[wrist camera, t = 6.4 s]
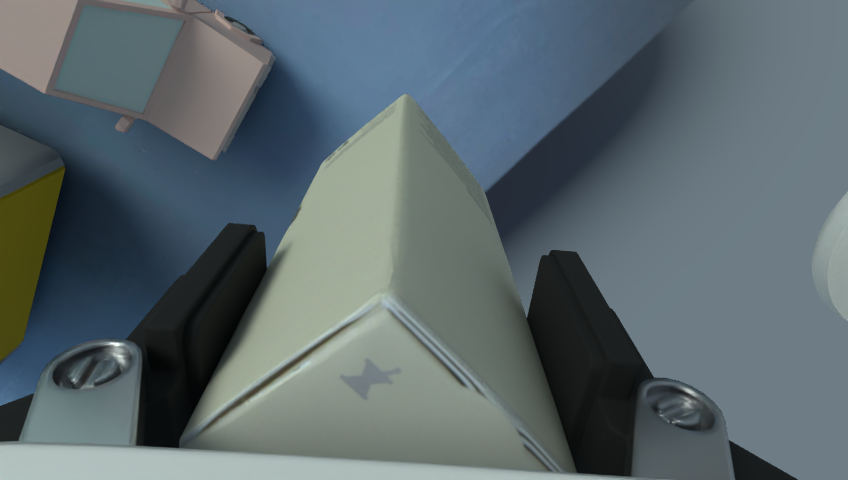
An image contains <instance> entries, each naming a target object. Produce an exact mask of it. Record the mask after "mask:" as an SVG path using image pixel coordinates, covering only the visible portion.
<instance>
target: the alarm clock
mask: <svg viewBox="0 0 848 480" xmlns="http://www.w3.org/2000/svg"><path fill="white" fill-rule="evenodd" d="M64 172H65V167H64V163H63V161H62V159H61V157H60V155H59V154H58V152H57V150H54V149H52V148H50V147H48V146H46V145H44V144H41V143H39V142H37V141H35V140H33V139H30V138H28V137H26V136H24V135H22V134H19V133H17V132H15V131H13V130H10V129H8V128H6V127H4V126H2V125H0V364H1V363H2V362H3V361H5V360H6V359H7V358H8V357H9V356H10V355H11V354H12V353H13V352H15V351H16V350H17V349H18V348H19V347H20V343H21V342H23V339H24V335H25V331H26V327H27V323H28V319H29V315H30V311H31V307H32V303H33V299H34V295H35V291H36V286H37V282H38V278H39V274H40V270H41V266H42V262H43V258H44V254H45V250H46V246H47V242H48V238H49V233H50V229H51V225H52V221H53V217H54V213H55V209H56V205H57V201H58V197H59V193H60V189H61V185H62V180H63V176H64Z"/></svg>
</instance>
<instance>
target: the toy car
mask: <svg viewBox="0 0 848 480" xmlns="http://www.w3.org/2000/svg"><path fill="white" fill-rule="evenodd" d="M262 42H263V40H261V39H260V38H258V37H257V36H255V35H254V33H253V32H252V31H251V30H250V29H249V28H247V27H246V26H245V25H243V24H241V23H240V22H238V21H236V20H234V19H232V18H230V17H224V14H223V13H222V12H220V11H219V10H218V9H216V11H215V13H213V12H212V11H211V10H209V9H208V8H206V7H205V6H203V5H202V4H200V3H199V2H197V1H196V0H0V68H1V69H3V70H5V71H6V72H8V73H10V74H11V75H13V76H15V77H17V78H18V79H20V80H22V81H24V82H25V83H27V84H29V85H30V86H32V87H34V88H36V89H37V90H39V91H41V92H43V93H44V94H48V95H52V96H55V97H59V98H63V99H67V100H70V101H74V102H78V103H82V104H86V105H89V106H93V107H97V108H101V109H104V110H108V111H112V112H116V113H120V114H123V116H122V117H121V119H120V120H119V121H118V122H117V124H116V126H115V129H117V130H118V131H121V132H124V133H126V132H127V131H128V130H129V129H130V128H131V126H132V125H133V123H134V120H135V119H137V118H139V119H142V120H146V121H148V122H149V123H151V124H153V125H155V126H156V127H158V128H160V129H161V130H163V131H165V132H166V133H168V134H170V135H171V136H173V137H175V138H176V139H178V140H180V141H181V142H183V143H185V144H186V145H188V146H190V147H191V148H193V149H195V150H196V151H198V152H200V153H201V154H203V155H205V156H206V157H208V158H210V159H212V160H217V158H218V156H219V154H220V152H221V150H222V151H223V152H226V150H227V149H228V147H229V146H230V144H231V142H232V140H233V138H234V135H235V133H236V131H237V129H238V128H239V126H240V124H241V122H242V120H243V118H244V116H245V115H246V113H247V111H248V109H249V107H250V105H251V104H252V102H253V100H254V98H255V96H256V94H257V92H258V91H259V89H260V87H261V86H262V84H263V83H264V81H265V79H266V78H267V76H268V74H269V72H270V70H271V67H272V65H273V63H274V61H275V59H276V57H275V56H274V54H273V53H272V52H271V51H269V50H268V49H266V48H265V47H263V46H262V45H261V44H262Z"/></svg>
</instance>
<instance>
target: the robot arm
mask: <svg viewBox="0 0 848 480" xmlns="http://www.w3.org/2000/svg"><path fill="white" fill-rule="evenodd" d="M266 270H267V266H266V248H265V236H264V233H263V232H257V229H256V227H255V225H246V224H233V223H229V224H227V226H226V227H225V228H224V229H223V230H222V231H221V233H220V234H219V235H218V236H217V237H216V239H215V240H214V241H213V242H212V243H211V245H210V246H209V247H208V248H207V249H206V251H205V252H204V253H203V254H202V255H201V257H200V258H199V259H198V260H197V261H196V262H195V264H194V265H193V266H192V267H191V268H190V270H189V271H188V272H187V273H186V274H185V275H182V276H180V277H179V278H178V279H177V280H176V281H175V282H174V284H173V285H172V286H171V287H170V288H169V289H168V291H167V292H166V293H165V294H164V295H163V296H162V298H161V299H160V300H159V301H158V302H157V304H156V305H155V306H154V307H153V308H152V309H151V311H150V312H149V313H148V314H147V315H146V316H145V318H144V319H143V320H142V321H141V322H140V323H139V325H138V326H137V327H136V328H135V329H134V330H133V332H132V333H131V334H130V335H129V336H128V338H127V339H126V340H125V339H116V338H108V339H98V340H93V341H89V342H85V343H82V344H79V345H77V346H74V347H71V348H69V349H67V350H66V351H64V352H62V353H61V354H59V355H57V356H56V357H55V358H53V359H52V360H51V361H50V362H49V363H48V364H47V365H46V366H45V368H44V370H43V371H42V373H41V375H40V378H39V381H38V384H37V387H36V390H35V393H33V394H31V395H28V396H26V397H23V398H20V399H18V400H15V401H12V402H10V403H7V404H4V405H2V406H0V480H797V479H796V478H794V477H792V476H790V475H789V474H787V473H785V472H784V471H782V470H780V469H778V468H777V467H775V466H773V465H771V464H770V463H768V462H766V461H764V460H763V459H761V458H759V457H757V456H755V455H754V454H752V453H750V452H749V451H747V450H745V449H744V448H741V447H740V446H738V445H737V444H734V443H733V442H731V441H729V440H728V434H727V428H726V422H725V419H724V416H723V414H722V411H721V410H720V409H719V408H718V406H717V405H716V404H715V403H714V402H713V401H712V400H711V399H710V398H709V397H707V396H706V395H705V394H704V393H702V392H701V391H699V390H697V389H695V388H694V387H692V386H690V385H688V384H685V383H683V382H680V381H677V380H673V379H668V378H654V377H653V375H652V374H651V372H650V370H649V368H648V367H647V365H646V364H645V362H644V360H643V359H642V357H641V355H640V353H639V352H638V351H637V348H636V347H635V345H634V343H633V342H632V340H631V338H630V337H629V335H628V334H627V332H626V330H625V328H624V327H623V325H622V323H621V322H620V320H619V318H618V317H617V315H616V313H615V312H614V311H613V310H612V309H611V308H609V306H608V304H607V303H606V301H605V299H604V297H603V296H602V294H601V292H600V291H599V289H598V287H597V286H596V284H595V282H594V281H593V279H592V277H591V275H590V274H589V272H588V270H587V269H586V267H585V265H584V264H583V262H582V260H581V259H580V257H579V255H578V254H577V253H576V252H572V251H560V250H551V251H550V253H549V255H548V256H547V255H543V256H542V257H541V259H540V263H539V268H538V272H537V276H536V281H535V285H534V290H533V294H532V299H531V303H530V308H529V312H528V317H527V321H528V324H529V327H530V330H531V333H532V336H533V339H534V342H535V345H536V348H537V351H538V354H539V357H540V360H541V363H542V366H543V369H544V372H545V375H546V378H547V381H548V384H549V387H550V390H551V393H552V396H553V399H554V402H555V405H556V408H557V411H558V414H559V417H560V420H561V423H562V426H563V429H564V433H565V436H566V439H567V442H568V445H569V448H570V452H571V455H572V458H573V461H574V464H575V467H576V470H577V473H567V472H552V471H538V470H523V469H509V468H494V467H480V466H464V465H449V464H433V463H418V462H402V461H386V460H370V459H354V458H338V457H322V456H306V455H288V454H271V453H253V452H236V451H218V450H201V449H184V448H179V441H180V437H181V436H182V434H183V432H184V430H185V428H186V426H187V424H188V422H189V420H190V418H191V416H192V414H193V412H194V410H195V408H196V406H197V404H198V402H199V400H200V398H201V397H202V395H203V393H204V391H205V389H206V387H207V385H208V383H209V381H210V379H211V377H212V375H213V372H214V371H215V369H216V367H217V365H218V363H219V361H220V359H221V357H222V355H223V353H224V351H225V349H226V347H227V345H228V343H229V342H230V340H231V338H232V336H233V334H234V332H235V330H236V328H237V326H238V324H239V322H240V320H241V318H242V316H243V314H244V312H245V310H246V308H247V306H248V305H249V303H250V301H251V299H252V297H253V295H254V293H255V291H256V290H257V288H258V286H259V284H260V282H261V280H262V278H263V276H264V274H265V272H266Z"/></svg>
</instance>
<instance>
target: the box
mask: <svg viewBox="0 0 848 480" xmlns="http://www.w3.org/2000/svg"><path fill="white" fill-rule="evenodd" d="M179 448H184V449H201V450H218V451H236V452H253V453H271V454H288V455H306V456H322V457H338V458H354V459H370V460H386V461H402V462H418V463H433V464H449V465H464V466H480V467H494V468H509V469H523V470H538V471H552V472H567V473H577V470H576V467H575V464H574V461H573V458H572V455H571V452H570V448H569V445H568V442H567V439H566V436H565V433H564V429H563V426H562V423H561V420H560V417H559V414H558V411H557V408H556V405H555V402H554V399H553V396H552V393H551V390H550V387H549V384H548V381H547V378H546V375H545V372H544V369H543V366H542V363H541V360H540V357H539V354H538V351H537V348H536V345H535V342H534V339H533V336H532V333H531V330H530V327H529V324H528V321H527V318H526V315H525V312H524V309H523V306H522V303H521V300H520V297H519V294H518V291H517V288H516V284H515V282H514V278H513V276H512V273H511V270H510V267H509V264H508V261H507V258H506V255H505V252H504V249H503V246H502V243H501V240H500V237H499V234H498V231H497V228H496V225H495V222H494V219H493V216H492V213H491V210H490V207H489V204H488V201H487V198H486V195H485V192H484V190H483V189H482V188H481V186H480V185H479V183H478V182H477V180H476V179H475V177H474V176H473V175H472V173H471V172H470V170H469V169H468V168H467V166H466V165H465V164H464V163H463V161H462V160H461V159H460V157H459V156H458V155H457V153H456V152H455V151H454V149H453V148H452V147H451V145H450V144H449V143H448V142H447V140H446V139H445V138H444V136H443V135H442V134H441V133H440V131H439V130H438V129H437V128H436V126H435V125H434V124H433V123H432V121H431V120H430V119H429V118H428V116H427V115H426V114H425V113H424V111H423V110H422V109H421V108H420V106H419V105H418V104H417V103H416V102H415V100H414V99H413V98H412V97H411V96H410V95H409V94H404V95H402V96H401V97H400V98H398V99H397V100H396V101H395V102H394V103H392V104H391V105H390V106H388V107H387V108H386V109H385V110H383V111H382V112H381V113H380V114H378V115H377V116H376V117H375V118H373V119H372V120H371V121H370V122H369V123H367V124H366V125H365V126H364V127H363V128H361V129H360V130H359V131H358V132H357V133H355V134H354V135H353V136H352V137H351V138H350V139H348V140H347V141H346V142H345V143H344V144H342V145H341V146H340V147H339V148H338V149H337V150H336V151H335V152H333V153H332V154H331V155H330V156H329V157H328V158H327V159H326V160H325V161H324V162H323V163H322V164H321V166H320V168H319V170H318V172H317V174H316V176H315V177H314V179H313V181H312V183H311V185H310V187H309V189H308V191H307V193H306V195H305V197H304V199H303V201H302V203H301V205H300V207H299V209H298V211H297V213H296V215H295V216H294V218H293V220H292V223H291V225H290V227H289V228H288V230H287V232H286V233H285V235H284V237H283V239H282V241H281V243H280V245H279V247H278V249H277V251H276V253H275V255H274V257H273V259H272V260H271V262H270V264H269V266H268V268H267V270H266V272H265V274H264V276H263V278H262V280H261V282H260V284H259V286H258V288H257V290H256V291H255V293H254V295H253V297H252V299H251V301H250V303H249V305H248V306H247V308H246V310H245V312H244V314H243V316H242V318H241V320H240V322H239V324H238V326H237V328H236V330H235V332H234V334H233V336H232V338H231V340H230V342H229V343H228V345H227V347H226V349H225V351H224V353H223V355H222V357H221V359H220V361H219V363H218V365H217V367H216V369H215V371H214V372H213V375H212V377H211V379H210V381H209V383H208V385H207V387H206V389H205V391H204V393H203V395H202V397H201V398H200V400H199V402H198V404H197V406H196V408H195V410H194V412H193V414H192V416H191V418H190V420H189V422H188V424H187V426H186V428H185V430H184V432H183V434H182V436H181V437H180V441H179Z"/></svg>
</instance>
